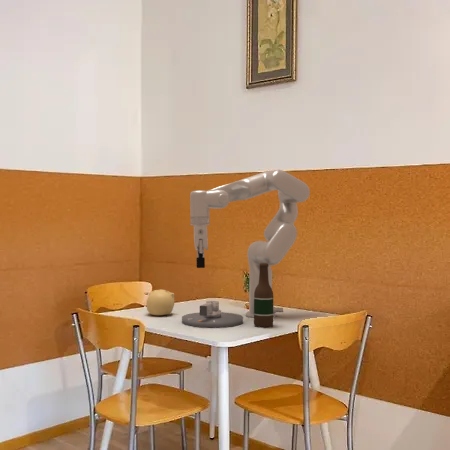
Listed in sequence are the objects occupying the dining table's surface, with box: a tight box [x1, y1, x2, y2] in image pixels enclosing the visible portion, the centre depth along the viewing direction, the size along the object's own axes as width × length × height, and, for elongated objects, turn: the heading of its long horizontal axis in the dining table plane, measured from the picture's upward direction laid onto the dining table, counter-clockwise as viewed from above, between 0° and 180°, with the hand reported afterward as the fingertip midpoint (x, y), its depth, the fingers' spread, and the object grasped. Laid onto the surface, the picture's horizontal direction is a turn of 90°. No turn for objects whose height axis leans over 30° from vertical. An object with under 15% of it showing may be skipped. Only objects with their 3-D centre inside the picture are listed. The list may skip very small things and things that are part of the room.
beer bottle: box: [253, 263, 274, 328], centre depth 236 cm, size 8×8×24 cm
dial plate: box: [181, 311, 244, 329], centre depth 244 cm, size 24×24×2 cm
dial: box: [199, 300, 222, 318], centre depth 240 cm, size 15×7×6 cm, turn 163°
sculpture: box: [145, 288, 175, 316], centre depth 260 cm, size 12×12×11 cm
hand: (200, 267), depth 246 cm, fingers closed
